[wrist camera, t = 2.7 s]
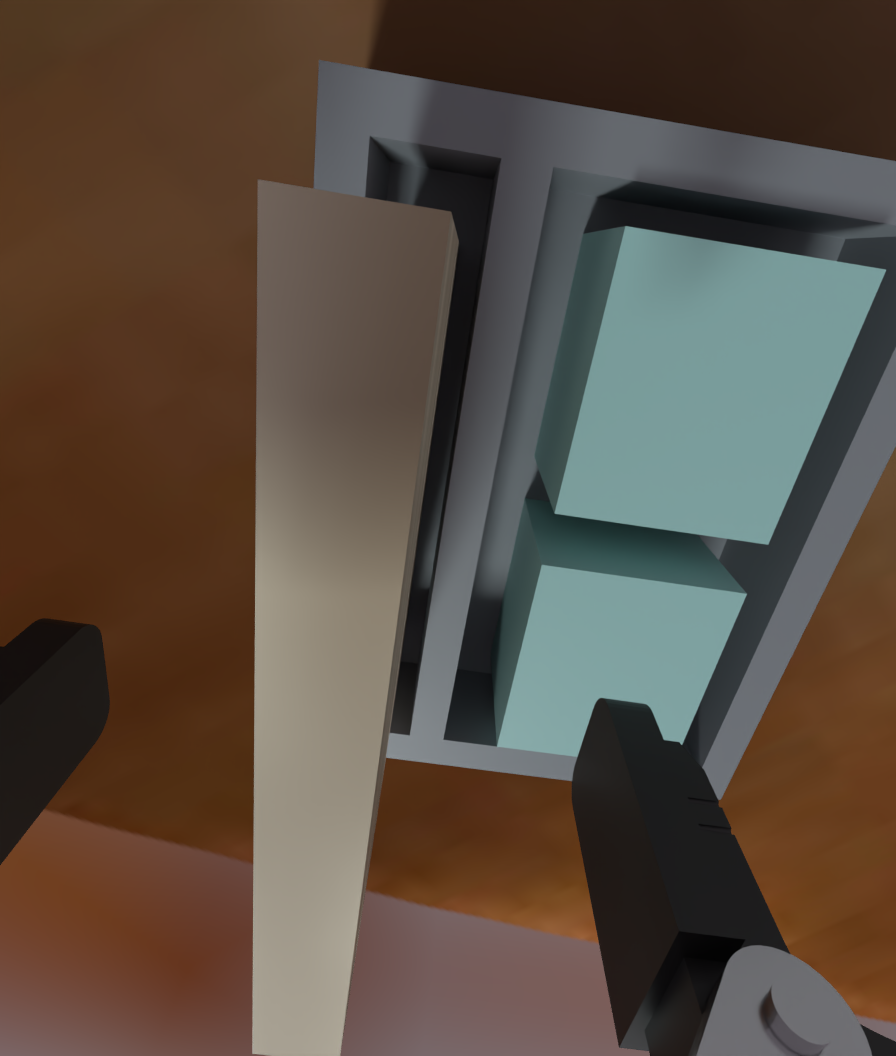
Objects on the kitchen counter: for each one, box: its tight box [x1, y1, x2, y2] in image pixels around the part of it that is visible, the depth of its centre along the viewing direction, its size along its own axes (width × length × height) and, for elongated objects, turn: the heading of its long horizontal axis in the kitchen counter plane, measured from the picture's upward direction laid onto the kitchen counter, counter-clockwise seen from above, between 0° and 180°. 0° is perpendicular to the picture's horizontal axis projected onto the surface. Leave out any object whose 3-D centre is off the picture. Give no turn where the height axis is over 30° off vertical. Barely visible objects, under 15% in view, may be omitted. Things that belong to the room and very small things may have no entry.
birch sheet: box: [252, 180, 459, 1056], centre depth 14 cm, size 2×14×14 cm, turn 172°
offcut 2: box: [491, 498, 747, 757], centre depth 20 cm, size 6×7×5 cm
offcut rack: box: [314, 60, 896, 800], centre depth 19 cm, size 16×20×5 cm
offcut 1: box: [534, 226, 886, 545], centre depth 17 cm, size 6×7×5 cm
